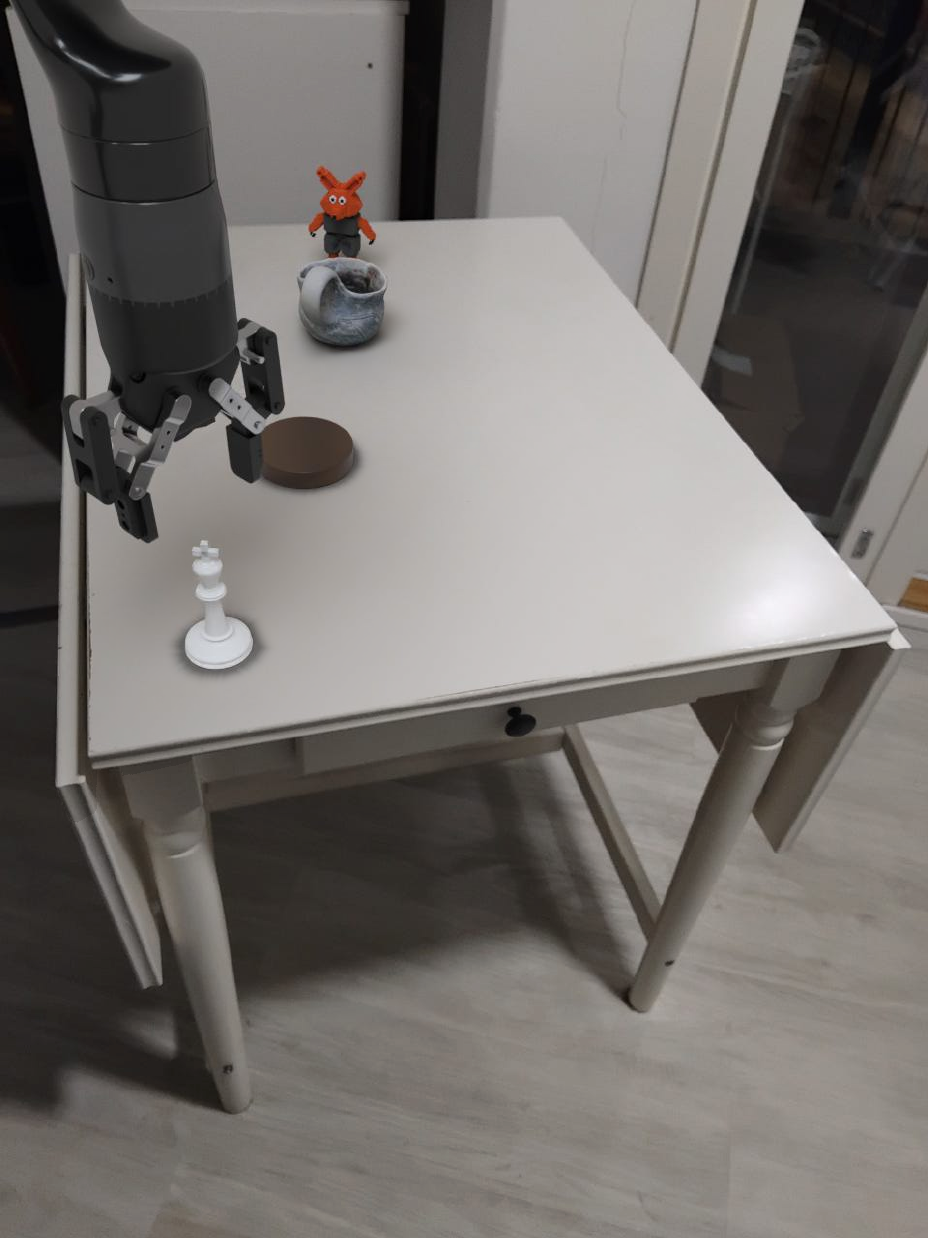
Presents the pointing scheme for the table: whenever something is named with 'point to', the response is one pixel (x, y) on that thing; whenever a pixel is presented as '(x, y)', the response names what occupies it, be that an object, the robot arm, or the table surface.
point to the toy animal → (341, 215)
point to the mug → (341, 300)
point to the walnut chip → (305, 452)
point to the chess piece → (215, 618)
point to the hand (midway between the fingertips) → (197, 505)
